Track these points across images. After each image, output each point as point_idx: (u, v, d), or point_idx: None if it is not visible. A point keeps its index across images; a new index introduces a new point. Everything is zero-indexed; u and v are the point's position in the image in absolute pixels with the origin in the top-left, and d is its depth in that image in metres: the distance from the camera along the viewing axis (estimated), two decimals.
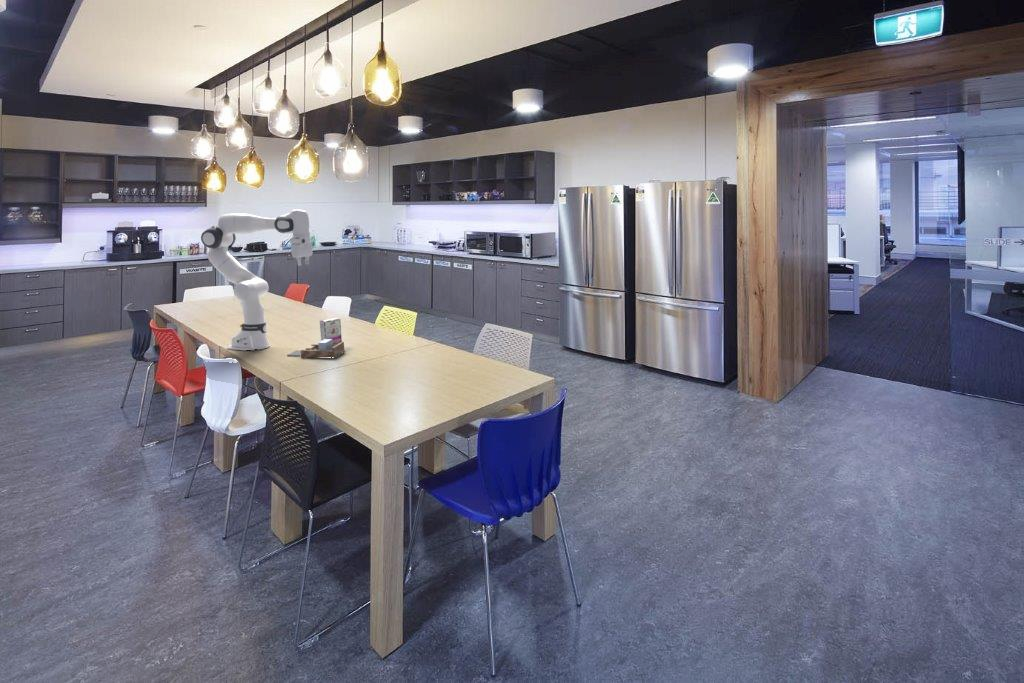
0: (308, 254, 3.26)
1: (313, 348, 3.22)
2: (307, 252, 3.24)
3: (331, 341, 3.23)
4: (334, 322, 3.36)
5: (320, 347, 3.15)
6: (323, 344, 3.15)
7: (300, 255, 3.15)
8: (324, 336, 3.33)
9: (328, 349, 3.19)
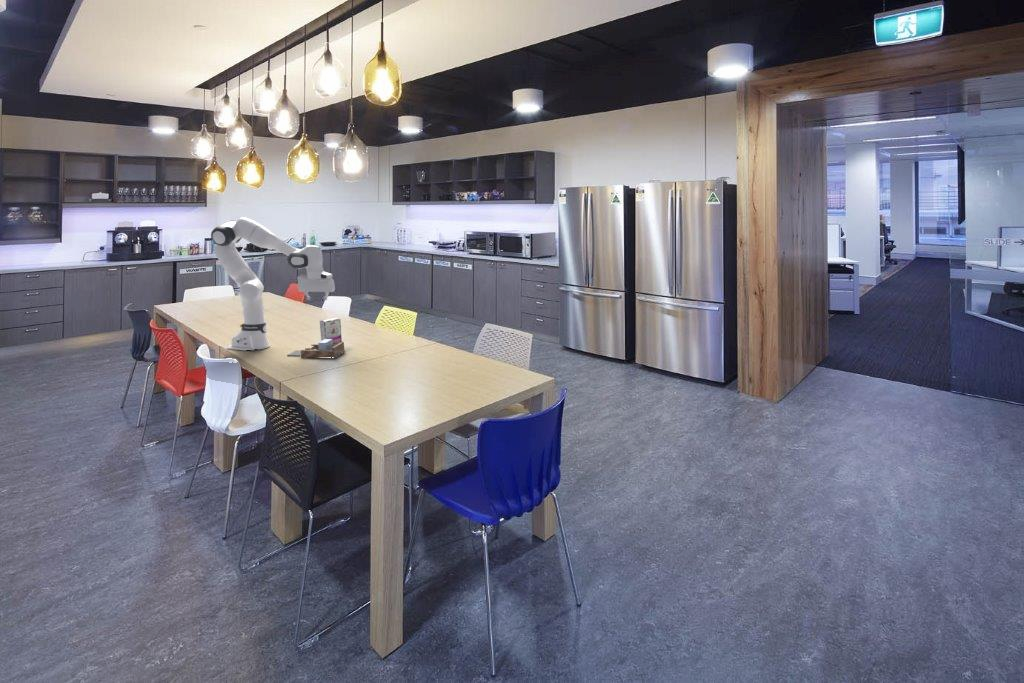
0: None
1: (312, 348, 3.22)
2: None
3: (331, 341, 3.23)
4: (334, 322, 3.35)
5: (320, 347, 3.15)
6: (323, 344, 3.15)
7: None
8: (324, 336, 3.33)
9: (328, 349, 3.19)
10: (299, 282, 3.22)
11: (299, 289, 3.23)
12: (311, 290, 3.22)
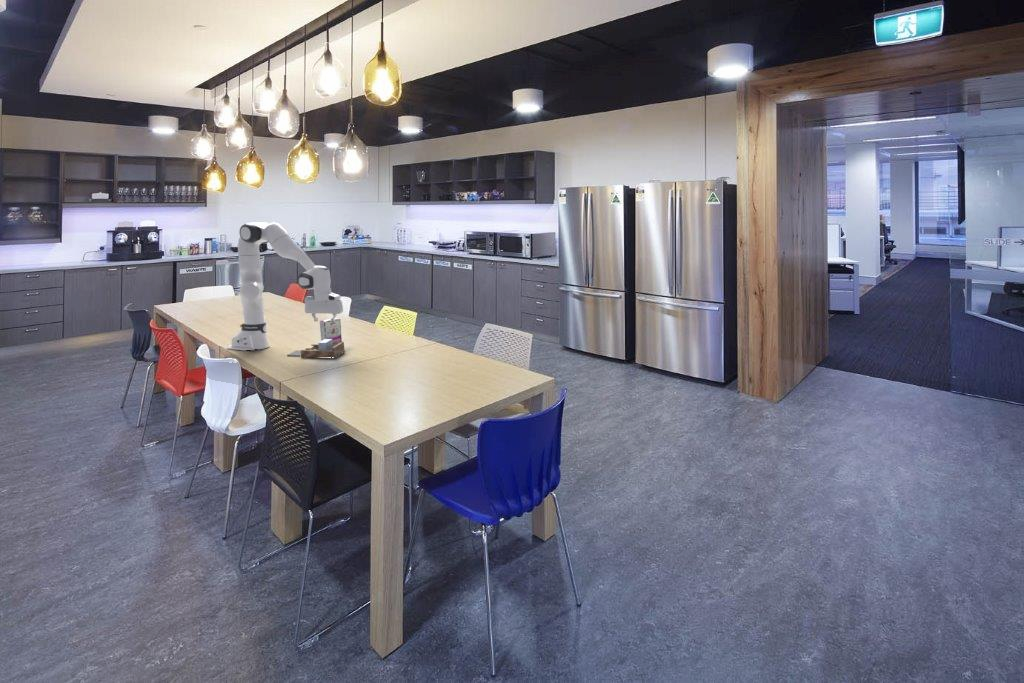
0: None
1: (313, 348, 3.22)
2: None
3: (331, 341, 3.23)
4: (334, 322, 3.35)
5: (320, 347, 3.15)
6: (323, 344, 3.15)
7: None
8: (324, 336, 3.33)
9: (328, 349, 3.19)
10: (306, 303, 3.14)
11: (306, 311, 3.15)
12: (318, 312, 3.14)
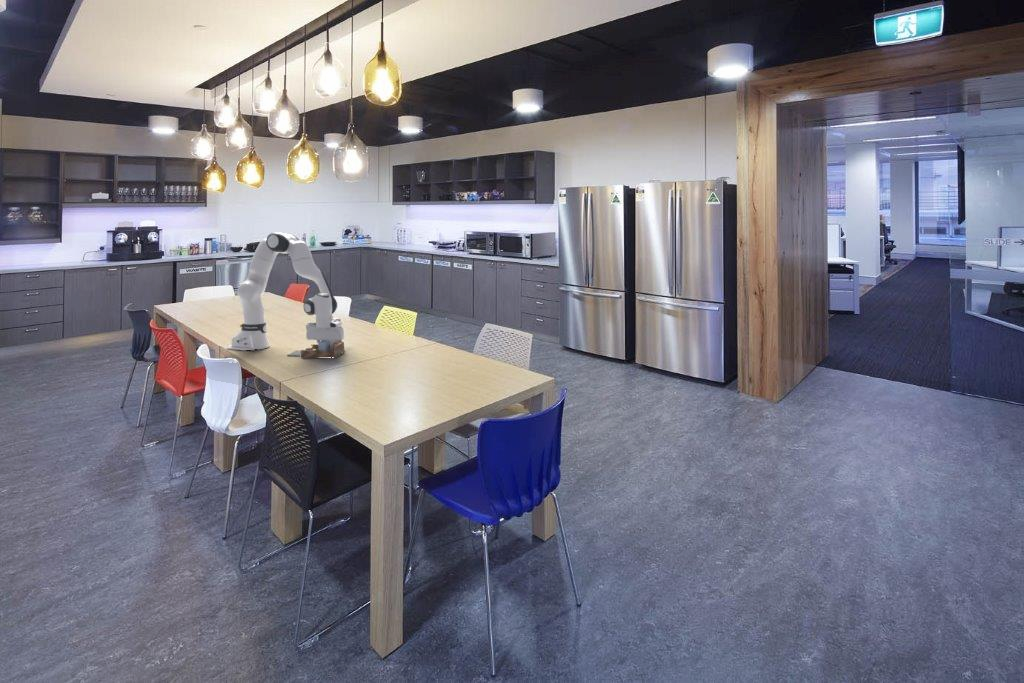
0: None
1: (312, 348, 3.22)
2: None
3: None
4: None
5: (320, 347, 3.15)
6: (323, 344, 3.15)
7: None
8: None
9: (328, 349, 3.19)
10: (308, 330, 3.17)
11: (308, 337, 3.18)
12: (320, 338, 3.17)
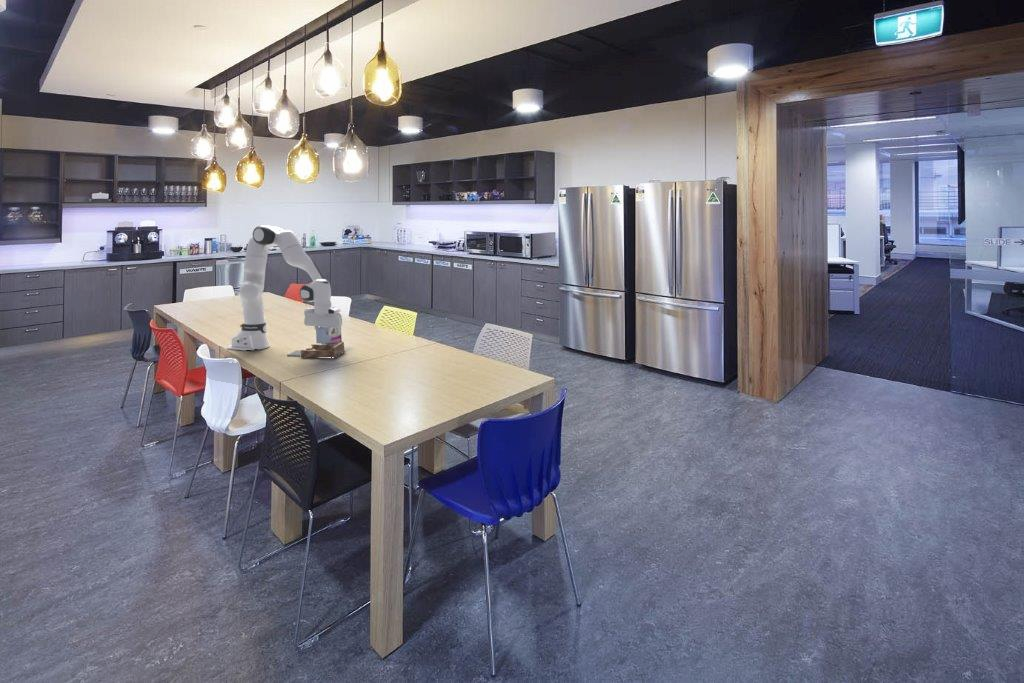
0: None
1: (312, 348, 3.22)
2: None
3: None
4: None
5: (318, 333, 3.13)
6: (321, 330, 3.12)
7: None
8: None
9: (326, 336, 3.17)
10: (306, 316, 3.15)
11: (306, 323, 3.16)
12: (318, 325, 3.15)
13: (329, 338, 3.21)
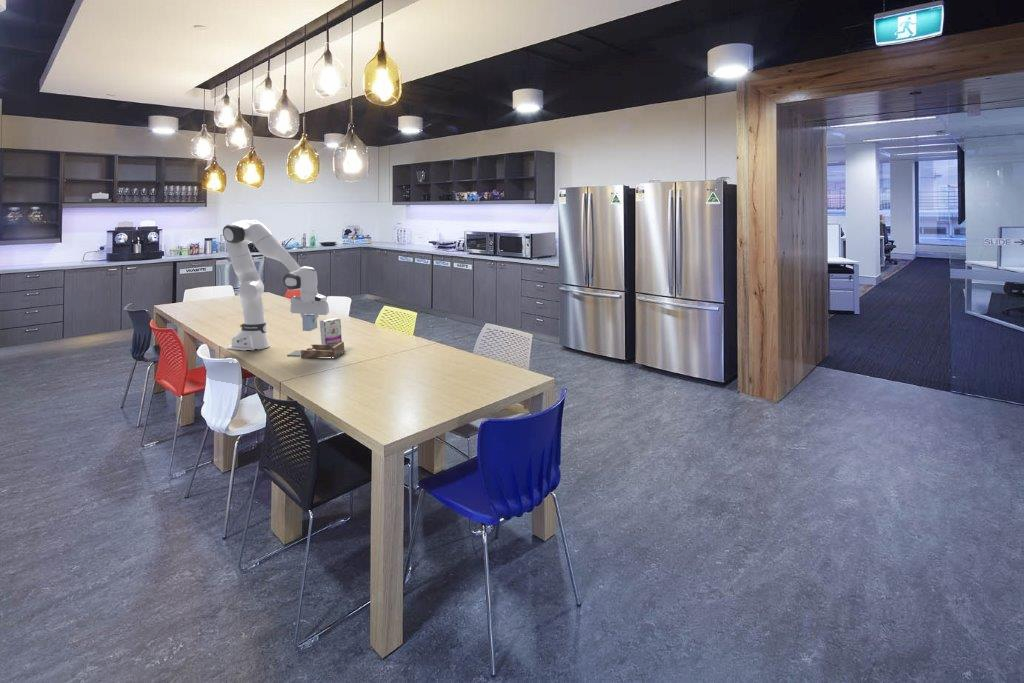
0: None
1: None
2: None
3: None
4: (334, 322, 3.35)
5: (304, 321, 3.13)
6: (307, 318, 3.12)
7: None
8: (324, 336, 3.33)
9: (312, 323, 3.17)
10: (292, 304, 3.15)
11: (292, 311, 3.16)
12: (304, 312, 3.15)
13: (315, 326, 3.22)
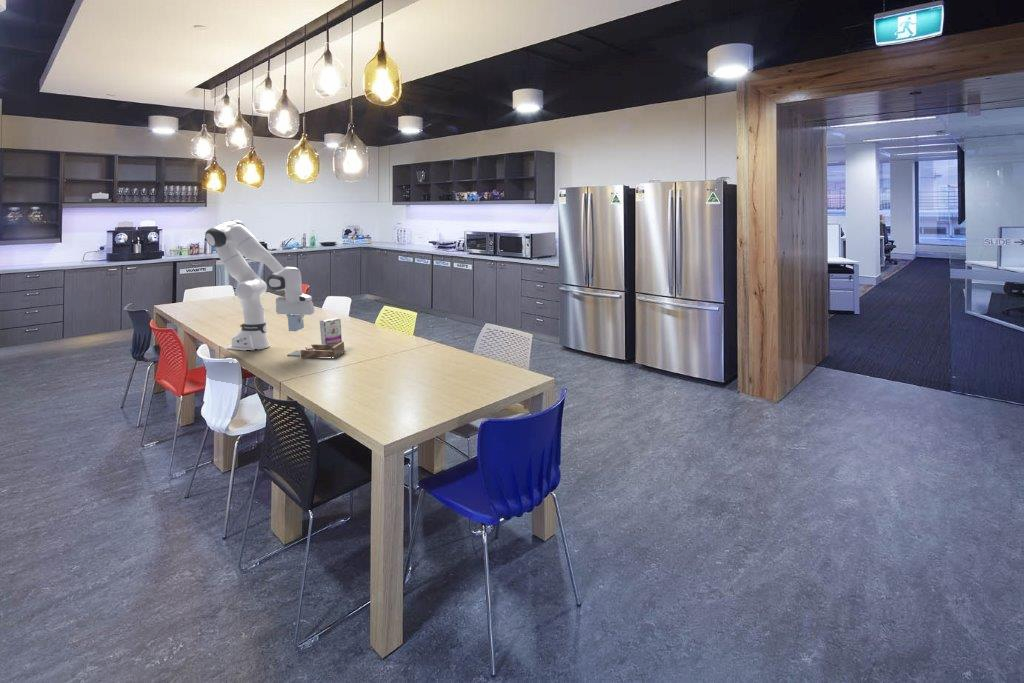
0: None
1: None
2: None
3: None
4: (334, 322, 3.35)
5: (289, 321, 3.13)
6: (292, 318, 3.13)
7: None
8: (324, 336, 3.33)
9: (298, 323, 3.17)
10: (277, 304, 3.15)
11: (277, 311, 3.16)
12: (290, 313, 3.15)
13: (302, 326, 3.22)
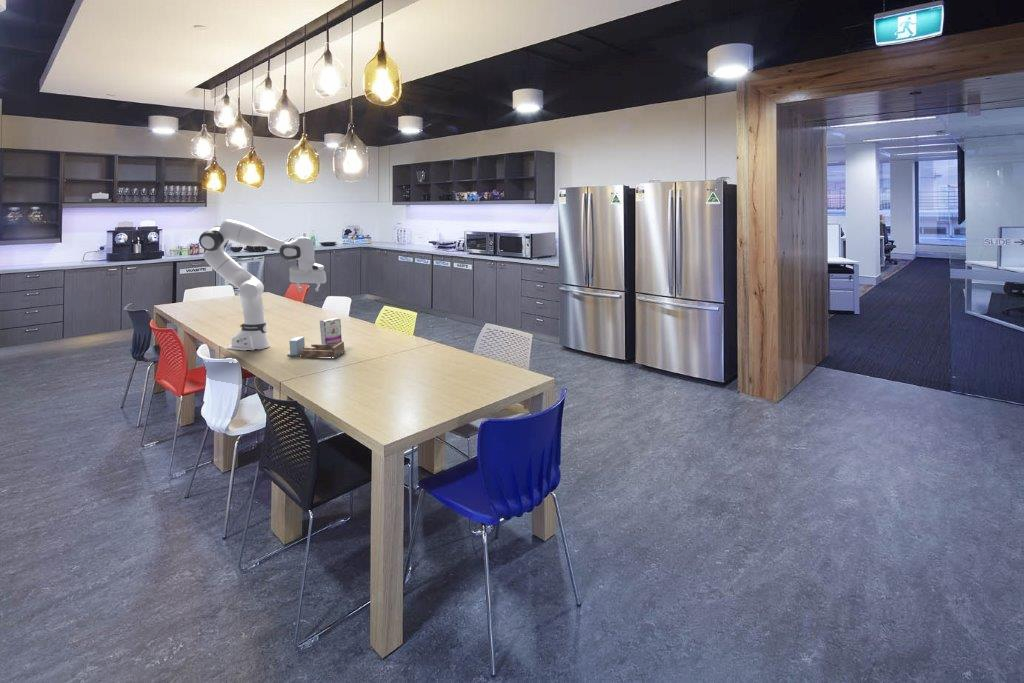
0: None
1: None
2: None
3: (303, 339, 3.24)
4: (334, 322, 3.36)
5: (291, 345, 3.16)
6: (294, 342, 3.16)
7: None
8: (324, 336, 3.33)
9: (299, 347, 3.20)
10: (291, 273, 3.26)
11: (291, 280, 3.27)
12: (303, 281, 3.26)
13: None
